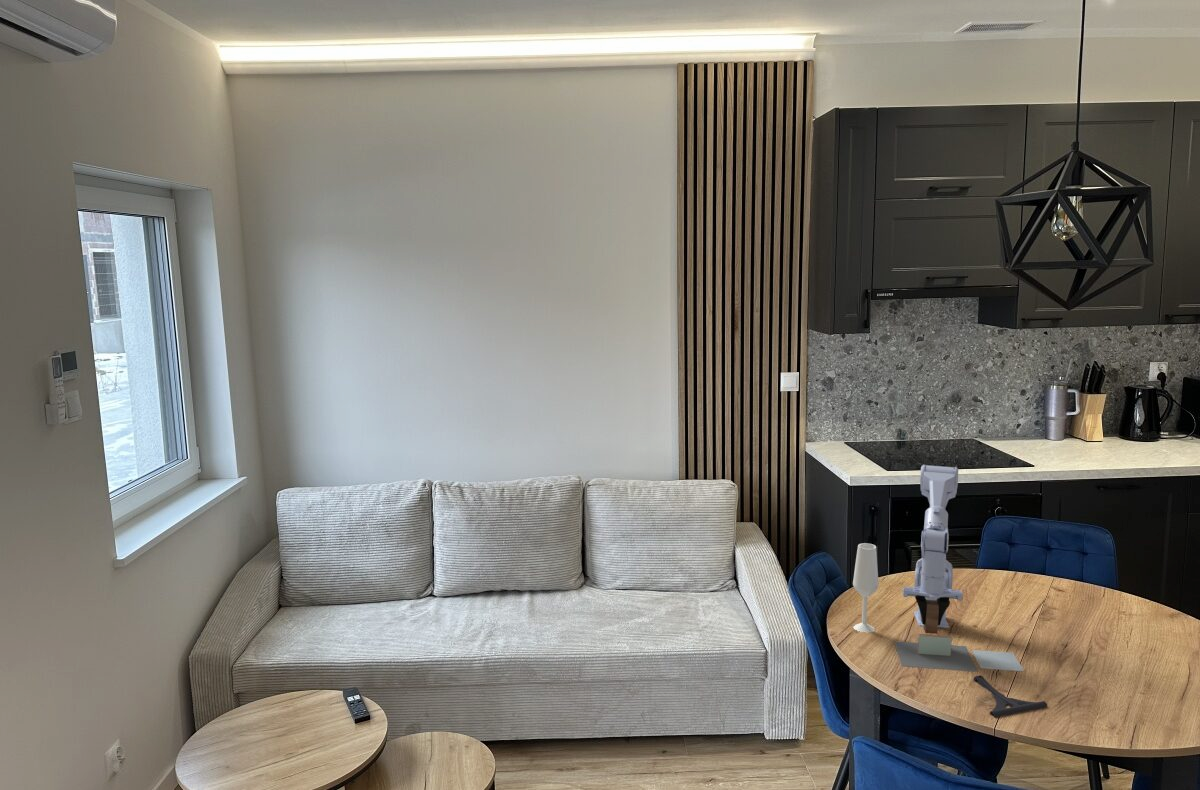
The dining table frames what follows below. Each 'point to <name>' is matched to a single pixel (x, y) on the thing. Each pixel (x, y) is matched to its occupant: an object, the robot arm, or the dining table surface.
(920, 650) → the tile
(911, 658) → the slate mat
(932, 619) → the walnut stick
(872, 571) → the champagne flute
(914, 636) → the dining table surface
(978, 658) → the rest pad
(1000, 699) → the bracket
